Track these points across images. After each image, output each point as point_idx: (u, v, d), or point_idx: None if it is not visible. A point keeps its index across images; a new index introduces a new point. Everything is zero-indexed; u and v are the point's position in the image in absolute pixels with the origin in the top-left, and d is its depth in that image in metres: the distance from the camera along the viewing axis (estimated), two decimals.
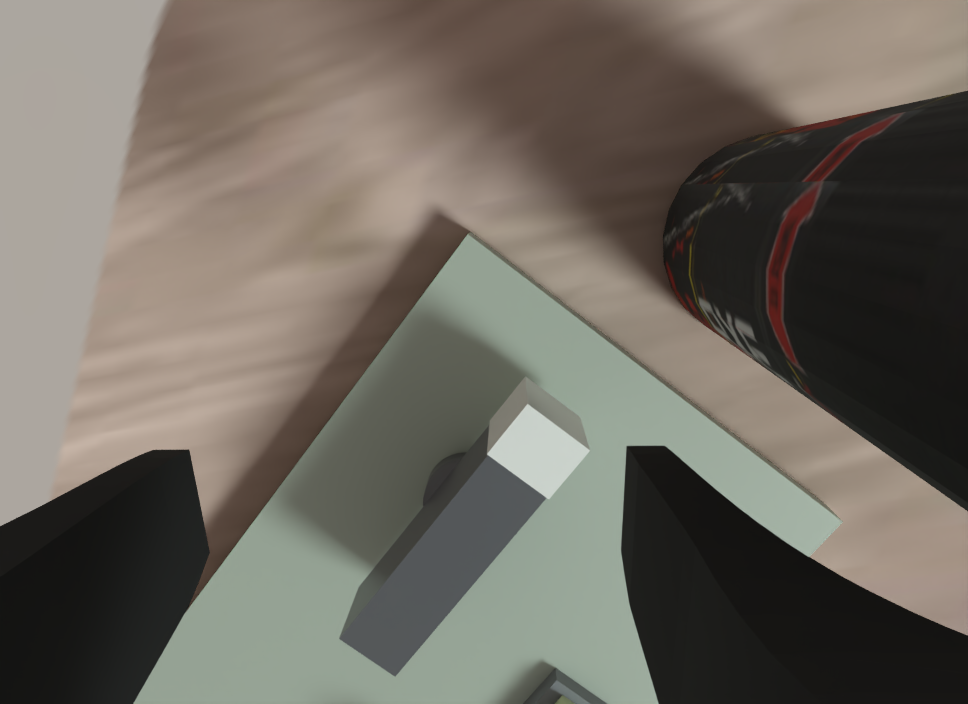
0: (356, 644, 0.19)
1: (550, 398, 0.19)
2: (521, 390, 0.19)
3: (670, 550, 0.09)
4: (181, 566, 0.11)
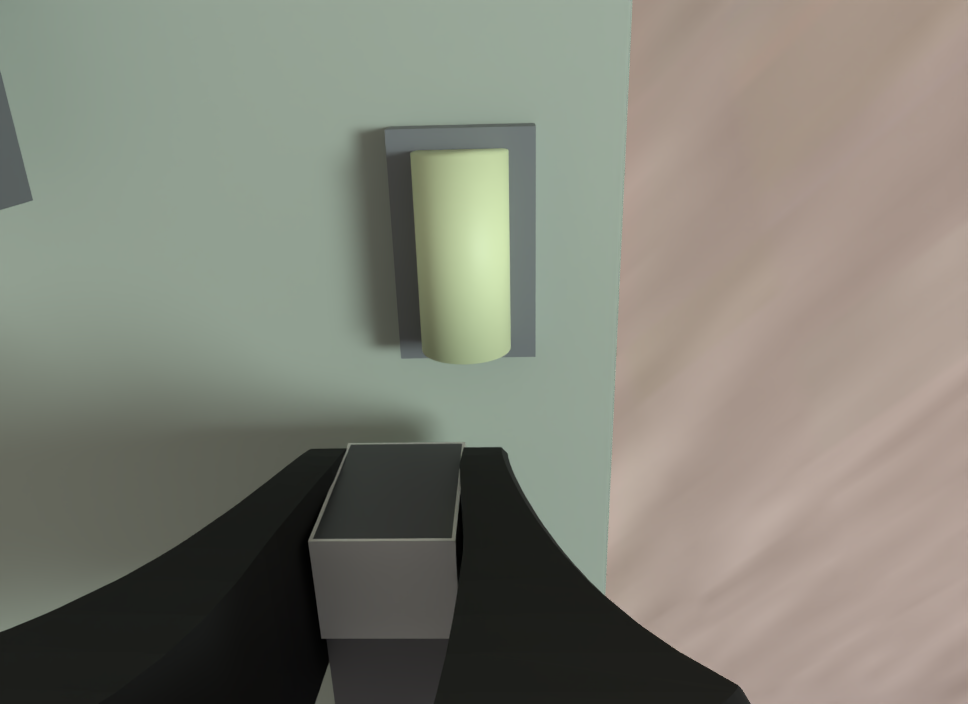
0: None
1: None
2: None
3: None
4: None
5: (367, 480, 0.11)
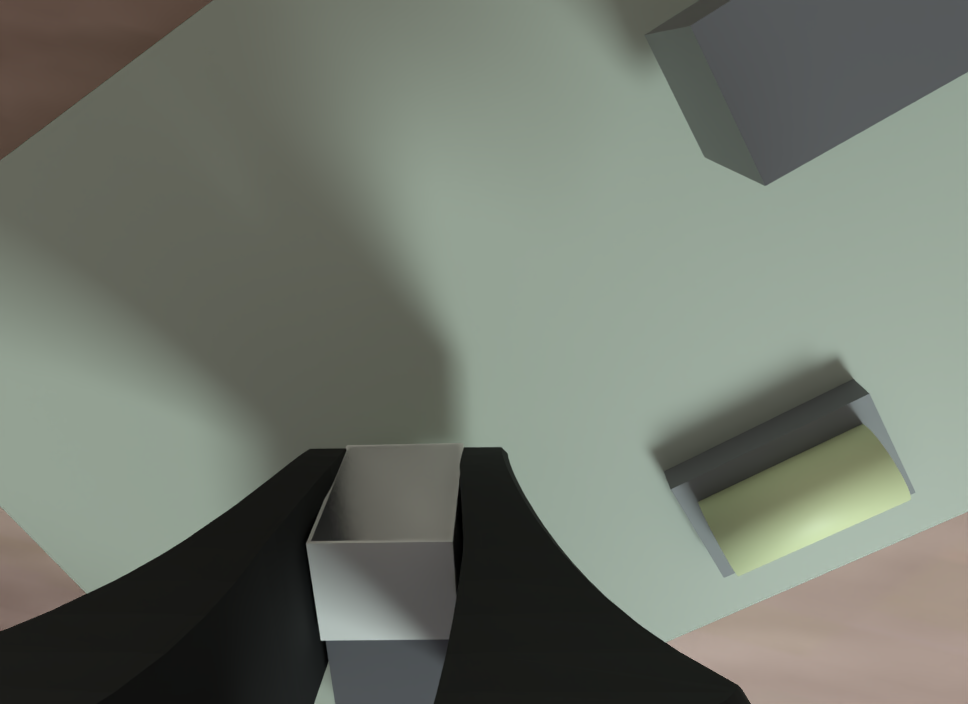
0: (725, 60, 0.07)
1: None
2: None
3: None
4: None
5: (364, 482, 0.11)
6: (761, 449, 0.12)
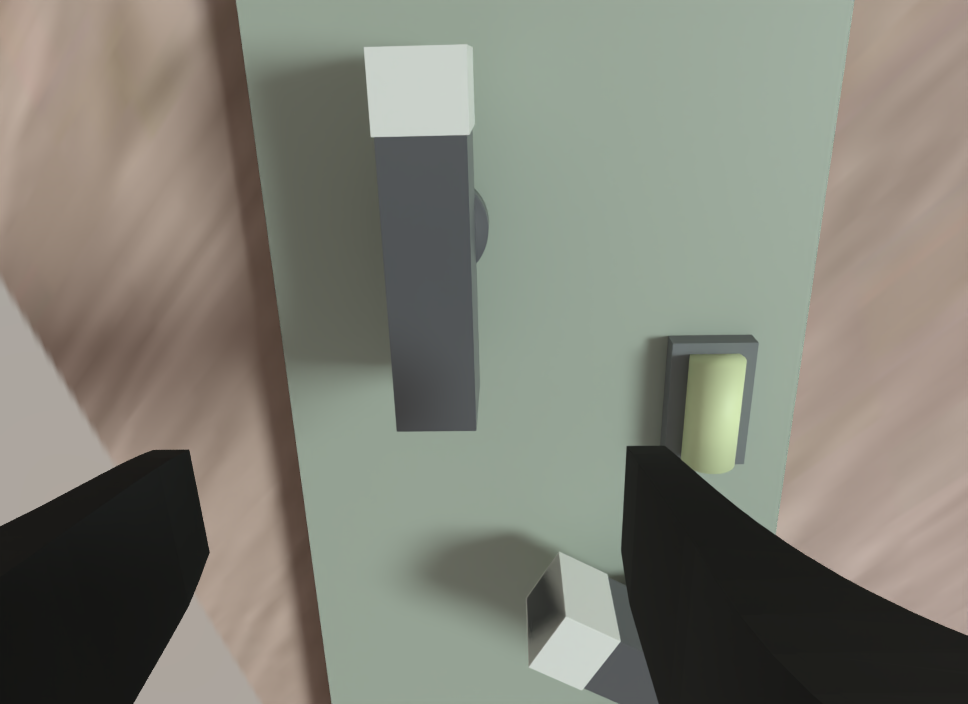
0: (416, 425, 0.16)
1: None
2: None
3: (670, 550, 0.09)
4: (181, 566, 0.11)
5: (536, 614, 0.20)
6: (671, 409, 0.20)
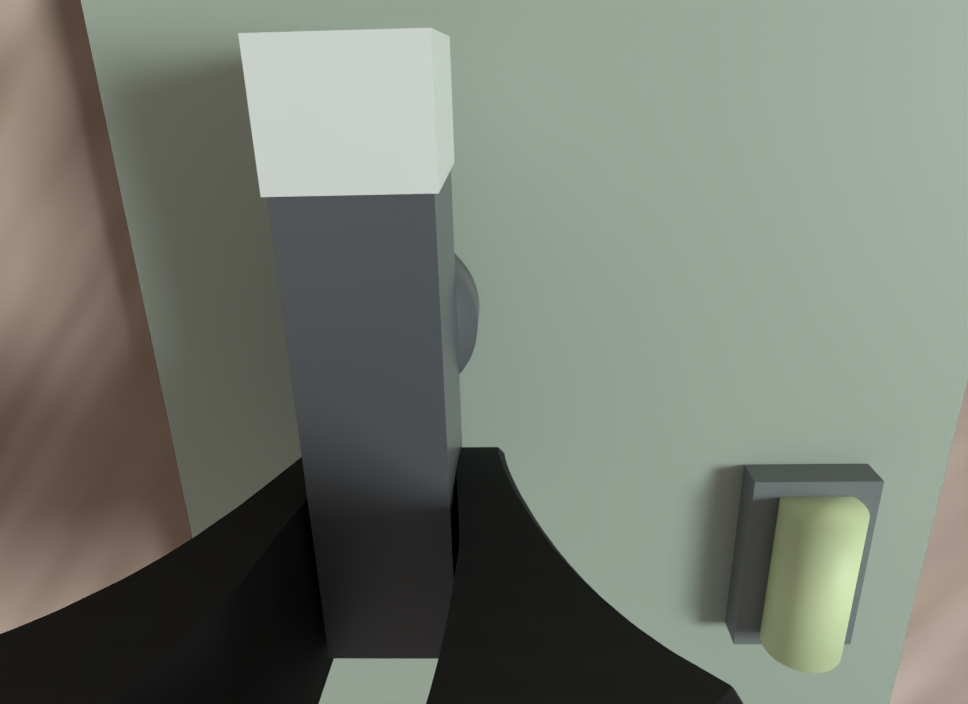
0: (360, 649, 0.10)
1: None
2: None
3: None
4: None
5: None
6: (747, 571, 0.13)
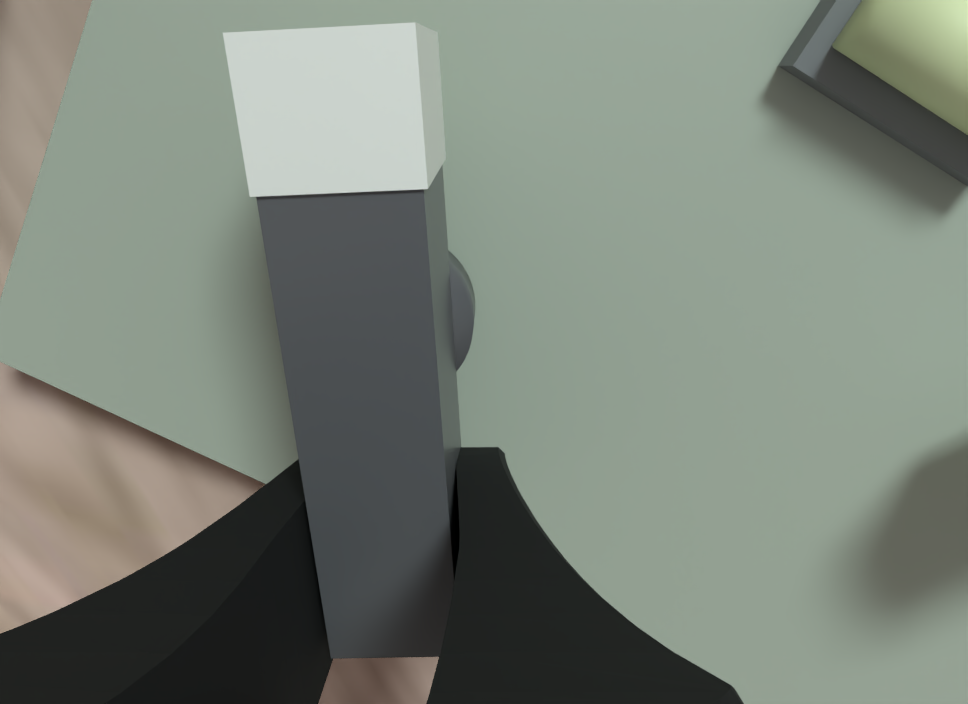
0: (362, 649, 0.10)
1: None
2: None
3: None
4: None
5: None
6: (904, 129, 0.10)
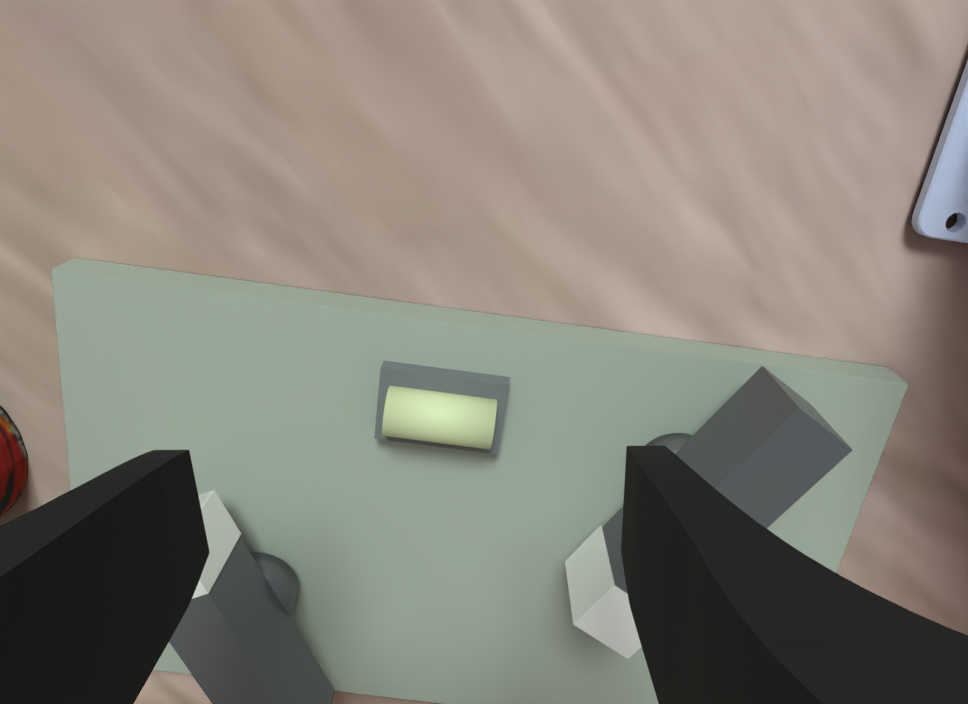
0: None
1: None
2: None
3: (670, 551, 0.09)
4: (181, 566, 0.11)
5: None
6: (441, 443, 0.21)
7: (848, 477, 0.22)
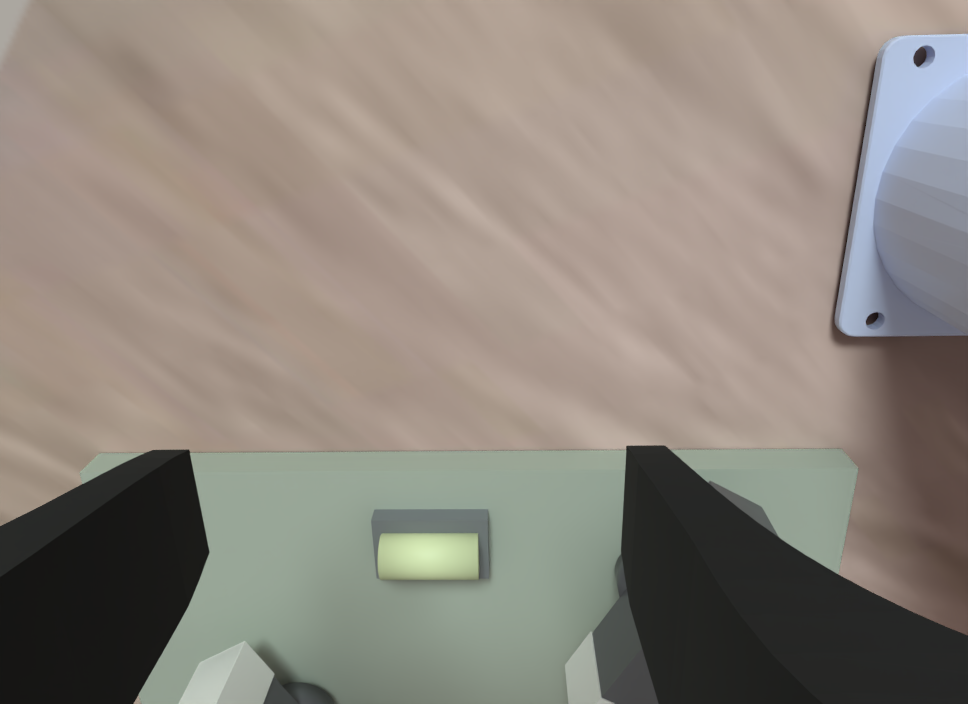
0: None
1: (214, 662, 0.23)
2: None
3: (670, 550, 0.09)
4: (181, 566, 0.11)
5: None
6: None
7: (819, 555, 0.23)
